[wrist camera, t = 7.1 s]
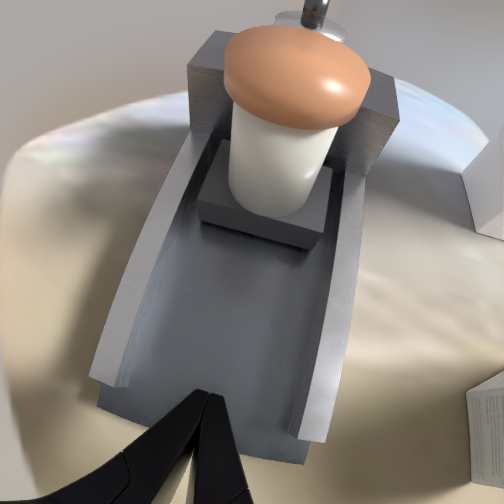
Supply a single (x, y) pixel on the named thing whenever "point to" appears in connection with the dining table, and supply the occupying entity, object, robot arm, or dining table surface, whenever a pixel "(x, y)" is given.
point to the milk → (487, 187)
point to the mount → (241, 289)
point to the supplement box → (487, 431)
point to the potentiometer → (312, 20)
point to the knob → (281, 132)
